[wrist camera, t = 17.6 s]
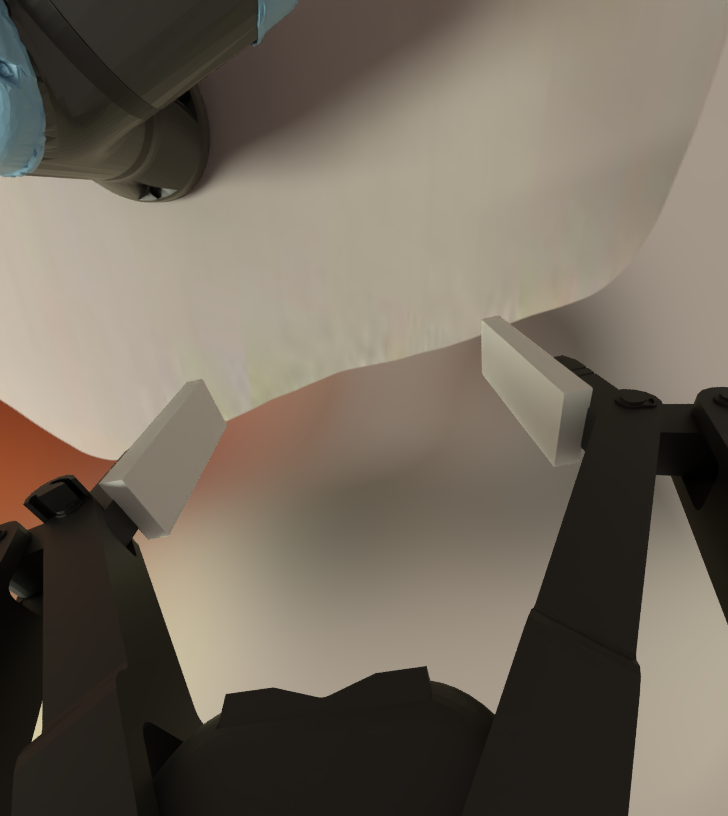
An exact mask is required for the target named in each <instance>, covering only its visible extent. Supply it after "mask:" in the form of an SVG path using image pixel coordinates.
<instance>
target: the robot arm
mask: <svg viewBox="0 0 728 816" xmlns="http://www.w3.org/2000/svg"><path fill="white" fill-rule="evenodd" d="M298 1H299V0H0V176H3V177H16V176H19V177H22V176H24V175H25V176H40V177H56V178H71V179H86V180H93V181H94V182H96V183H98V184H99V185H101V186H102V187H104V188H106V189H107V190H109V191H111V192H113V193H115V194H117V195H119V196H122V197H125V198H128V199H131V200H135V201H140V202H167V201H172V200H175V199H177V198H180V197H182V196H183V195H185V194H186V193H188V192H189V191H190V190H191V189H192V188H193V187H194V186H195V185H196V184H197V182H198V181H199V179H200V177H201V176H202V174H203V171H204V169H205V166H206V163H207V158H208V153H209V126H208V120H207V114H206V110H205V107H204V103H203V100H202V97H201V95H200V92H199V90H198V87H197V85H196V84H197V83H199V82H200V81H201V80H203V79H204V78H205V77H207V76H208V75H209V74H211V73H212V72H213V71H215V70H216V69H217V68H219V67H220V66H221V65H223V64H224V63H225V62H227V61H228V60H230V59H231V58H232V57H234V56H235V55H236V54H238V53H239V52H240V51H242V50H243V49H244V48H246V47H247V46H248V45H250V44H251V45H252V46H257V45H259V44H260V43H261V41H262V39H263V38H264V35H265V33H266V32H267V31H269V30H270V29H271V28H272V27H273V26H275V25H276V24H277V23H278V22H279V21H281V20H282V19H283V18H284V17H285V16H287V15H288V14H289V13H290V12H291V11H292V10H293V9H294V8H295V6H296V5H297V3H298ZM481 331H482V374H483V375H484V377H485V378H486V379H487V381H488V382H489V383H490V385H491V386H492V387H493V388H494V390H495V391H496V392H497V394H498V395H499V396H500V398H501V399H502V400H503V401H504V403H505V404H506V405H507V407H508V408H509V409H510V410H511V412H512V413H513V414H514V415H515V417H516V418H517V419H518V421H519V422H520V423H521V425H522V426H523V427H524V429H525V430H526V431H527V433H528V434H529V435H530V436H531V438H532V439H533V440H534V441H535V443H536V444H537V445H538V447H539V448H540V449H541V451H542V452H543V453H544V454H545V456H546V457H547V458H548V460H549V461H550V462H551V464H552V465H553V466H554V467H557V466H562V465H568V464H574V463H579V459H580V453H581V449H584V451H585V454H584V457H583V460H582V463H581V466H580V469H579V472H578V475H577V478H576V481H575V484H574V488H573V491H572V494H571V497H570V500H569V503H568V506H567V509H566V512H565V515H564V518H563V521H562V524H561V527H560V531H559V533H558V537H557V540H556V543H555V546H554V549H553V552H552V555H551V558H550V561H549V564H548V567H547V570H546V573H545V577H544V579H543V583H542V586H541V589H540V592H539V595H538V598H537V601H536V604H535V606H534V608H533V609H531V612H530V614H529V616H528V619H527V621H526V624H525V627H524V630H523V633H522V636H521V639H520V642H519V645H518V648H517V651H516V654H515V657H514V660H513V663H512V666H511V669H510V672H509V675H508V678H507V681H506V684H505V687H504V690H503V693H502V696H501V699H500V702H499V705H498V708H497V711H496V714H493V713H492V712H491V711H490V710H489V709H488V708H486V707H485V706H484V705H483V704H482V703H480V702H479V701H477V700H476V699H474V698H473V697H472V696H470V695H469V694H467V693H465V692H463V691H461V690H459V689H457V688H455V687H452V686H449V685H447V684H444V683H440V682H435V681H430V678H429V675H428V670H427V666H425V667H418V668H410V669H402V670H396V671H389V672H382V673H375V674H373V675H371V676H369V677H367V678H365V679H363V680H361V681H359V682H356V683H354V684H352V685H350V686H348V687H346V688H344V689H342V690H340V691H338V692H336V693H333V694H332V695H330V696H327V697H323V698H319V697H314V696H309V695H305V694H300V693H296V692H291V691H287V690H282V689H278V688H267V689H259V690H252V691H245V692H238V693H231V694H226V696H225V700H224V704H223V708H222V712H221V713H220V714H219V715H217V716H215V717H214V718H213V719H211V720H209V721H208V722H206V723H205V724H203V723H202V722H201V720H200V719H199V717H198V715H197V713H196V710H195V708H194V705H193V702H192V699H191V696H190V693H189V690H188V688H187V685H186V682H185V679H184V676H183V673H182V670H181V667H180V664H179V661H178V658H177V656H176V652H175V650H174V647H173V644H172V641H171V638H170V635H169V632H168V629H167V626H166V623H165V621H164V618H163V615H162V612H161V609H160V606H159V603H158V600H157V597H156V594H155V592H154V589H153V586H152V583H151V580H150V577H149V574H148V571H147V568H146V565H145V562H144V559H143V557H142V554H141V551H140V548H139V545H138V544H137V543H136V542H135V541H134V540H133V536H134V535H135V533H136V531H137V530H138V529H139V530H140V531H141V532H142V533H143V534H144V535H145V537H146V538H147V539H154V538H160V537H165V536H169V534H170V532H171V530H172V528H173V527H174V525H175V523H176V521H177V519H178V517H179V515H180V513H181V511H182V510H183V508H184V506H185V504H186V502H187V500H188V498H189V496H190V495H191V493H192V491H193V489H194V487H195V485H196V483H197V481H198V479H199V477H200V476H201V474H202V472H203V470H204V468H205V466H206V464H207V462H208V460H209V459H210V457H211V455H212V453H213V451H214V449H215V447H216V445H217V443H218V442H219V440H220V437H221V436H222V434H223V432H224V430H225V428H226V426H227V425H226V423H225V421H224V419H223V417H222V415H221V413H220V411H219V409H218V407H217V406H216V404H215V402H214V400H213V398H212V396H211V394H210V392H209V391H208V389H207V387H206V385H205V383H204V381H203V379H200V380H195V381H191V382H187V383H186V384H185V385H184V386H183V388H182V389H181V390H180V391H179V392H178V393H177V394H176V396H175V397H174V398H173V399H172V400H171V401H170V402H169V404H168V405H167V406H166V407H165V408H164V409H163V410H162V412H161V413H160V414H159V415H158V416H157V417H156V419H155V420H154V421H153V422H152V423H151V424H150V425H149V427H148V428H147V429H146V430H145V431H144V432H143V433H142V435H141V436H140V437H139V438H138V439H137V440H136V442H135V443H134V444H133V445H132V446H131V447H130V448H129V449H128V450H127V451H125V453H124V454H123V455H122V456H121V457H120V458H119V459H118V461H117V463H115V464H114V465H113V466H112V468H111V470H110V471H108V472H107V473H106V474H105V475H104V477H103V478H102V479H101V480H100V481H99V482H98V483H97V485H96V486H95V487H94V488H93V489H92V490H91V491H90V492H89V491H88V490H87V489H86V488H85V487H84V486H83V485H82V484H81V483H80V482H79V481H78V480H77V479H76V478H75V477H74V476H73V475H65V476H61V477H58V478H56V479H54V480H51V481H50V482H47V483H46V484H44V485H42V486H41V487H39V488H38V489H37V490H35V491H34V492H33V493H31V495H30V496H29V497H28V498H27V499H26V500H25V502H24V504H23V505H24V506H25V507H27V508H28V509H29V510H30V511H31V512H32V513H33V514H34V515H36V516H37V517H38V518H39V519H40V520H41V521H42V522H43V523H44V524H42V525H39V526H37V527H34V528H32V529H29V530H27V529H25V528H24V527H23V526H22V525H21V524H19V523H18V522H17V521H11V522H7V523H4V524H1V525H0V816H628V811H629V800H630V790H631V780H632V769H633V758H634V749H635V738H636V728H637V717H638V707H639V696H640V682H641V673H640V666H639V664H638V662H637V661H636V648H637V639H638V629H639V621H640V612H641V603H642V594H643V585H644V575H645V567H646V558H647V549H648V540H649V531H650V521H651V513H652V504H653V495H654V486H655V477H656V475H668V476H671V477H672V480H673V482H674V485H675V488H676V490H677V493H678V495H679V498H680V501H681V503H682V506H683V508H684V511H685V514H686V516H687V519H688V522H689V524H690V527H691V529H692V532H693V535H694V537H695V540H696V542H697V545H698V548H699V550H700V553H701V556H702V558H703V561H704V563H705V566H706V569H707V571H708V574H709V577H710V579H711V582H712V584H713V587H714V590H715V592H716V595H717V597H718V600H719V603H720V605H721V608H722V611H723V613H724V616H725V618H726V621H727V623H728V387H714V388H708V389H704V390H702V391H701V392H700V393H699V394H698V395H697V397H696V400H695V402H694V404H662V401H661V400H660V399H658V398H657V397H656V396H654V395H651V394H649V393H647V392H642V391H638V390H630V389H629V390H628V389H621V390H618V389H617V388H615V387H614V386H613V385H611V384H610V383H608V382H607V381H606V380H604V379H603V378H601V377H600V376H599V375H597V374H594V372H593V371H591V370H590V369H589V368H586V366H584V365H583V364H582V363H580V362H579V361H577V360H575V359H572V358H569V357H566V356H563V355H562V356H557V357H552V356H551V355H549V354H548V353H547V352H545V351H544V350H543V349H541V348H540V347H539V346H538V345H536V344H535V343H534V342H532V341H531V340H530V339H528V338H527V337H526V336H524V335H523V334H522V333H521V332H519V331H518V330H517V329H515V328H514V327H513V326H512V325H510V324H509V323H508V322H506V321H505V320H504V319H503V318H501V317H500V316H494V317H490V318H485V319H481ZM9 590H10V591H11V592H13V593H15V594H16V595H17V596H18V597H17V600H15V599H14V598H13V597H12V596H11V594H10V591H9ZM42 700H43V715H42V717H43V718H42V720H43V721H42V725H43V726H42V734H41V735H40V736H38V737H37V738H36V739H35V740H34V741H32V738H33V734H34V730H35V726H36V723H37V719H38V715H39V711H40V707H41V704H42ZM31 741H32V742H31Z"/></svg>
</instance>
